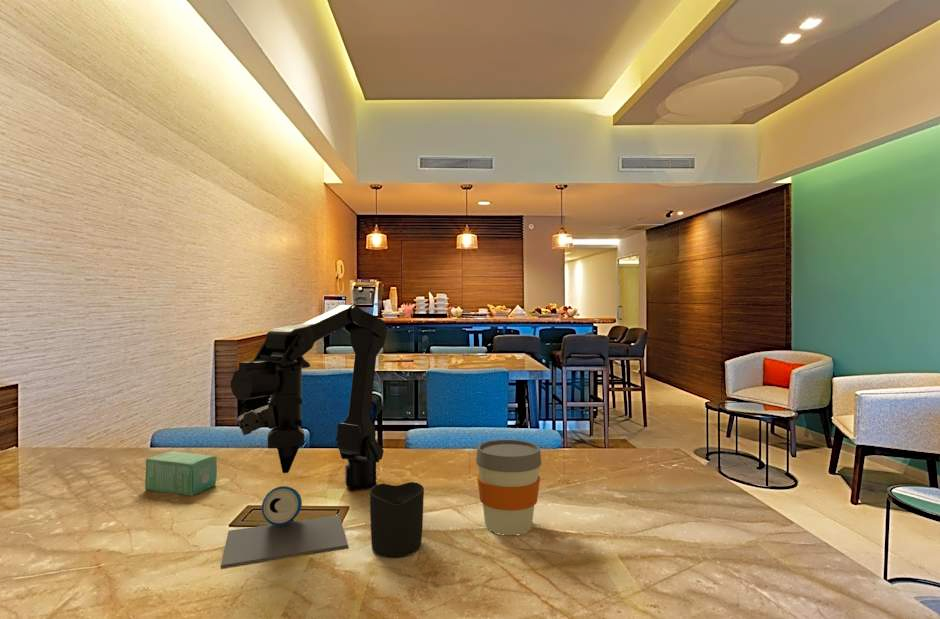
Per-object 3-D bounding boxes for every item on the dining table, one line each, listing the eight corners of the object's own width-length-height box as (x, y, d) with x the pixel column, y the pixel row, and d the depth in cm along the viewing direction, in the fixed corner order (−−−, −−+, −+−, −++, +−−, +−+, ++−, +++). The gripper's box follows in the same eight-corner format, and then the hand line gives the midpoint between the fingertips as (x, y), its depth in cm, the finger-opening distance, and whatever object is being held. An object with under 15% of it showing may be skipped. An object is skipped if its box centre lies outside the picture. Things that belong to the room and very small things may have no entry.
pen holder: (400, 565, 81) (400, 504, 81) (357, 550, 86) (358, 492, 86) (434, 542, 89) (434, 486, 89) (393, 530, 94) (394, 477, 94)
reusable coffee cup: (496, 546, 88) (497, 460, 88) (464, 519, 99) (464, 443, 99) (554, 531, 94) (554, 451, 94) (518, 508, 105) (518, 436, 105)
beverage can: (270, 486, 99) (265, 484, 88) (304, 488, 100) (303, 487, 90) (263, 521, 96) (257, 524, 86) (298, 523, 98) (296, 526, 87)
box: (193, 496, 111) (193, 463, 111) (144, 491, 115) (144, 458, 115) (217, 485, 118) (217, 454, 118) (171, 481, 122) (171, 450, 122)
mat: (339, 517, 100) (339, 515, 100) (348, 547, 88) (348, 544, 88) (228, 532, 93) (228, 530, 93) (220, 567, 80) (220, 565, 80)
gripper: (244, 387, 104) (243, 463, 104) (236, 403, 86) (236, 494, 86) (301, 385, 108) (300, 457, 108) (304, 399, 90) (304, 486, 90)
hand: (285, 472), depth 98 cm, fingers closed
